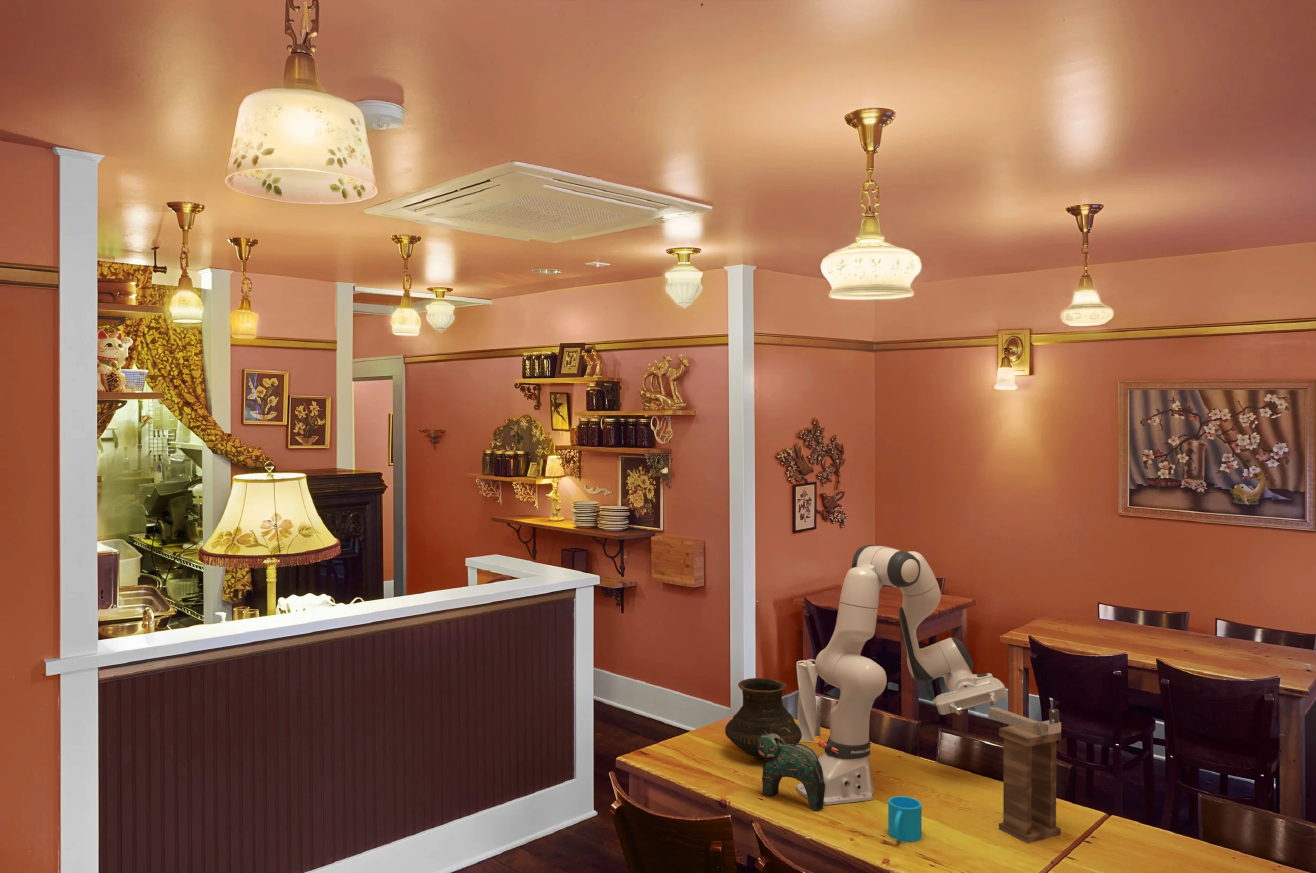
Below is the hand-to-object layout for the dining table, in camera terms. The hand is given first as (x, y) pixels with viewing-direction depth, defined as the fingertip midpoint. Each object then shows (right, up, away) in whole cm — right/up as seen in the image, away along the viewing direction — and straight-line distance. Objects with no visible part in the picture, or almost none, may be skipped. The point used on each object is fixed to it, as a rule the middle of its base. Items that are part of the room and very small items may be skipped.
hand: (976, 707), depth 248 cm
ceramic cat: (-54, -24, -6) cm, 59 cm away
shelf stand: (+5, -24, -25) cm, 35 cm away
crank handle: (+5, +2, -20) cm, 20 cm away
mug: (-29, -24, -29) cm, 47 cm away
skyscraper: (-40, -25, +45) cm, 66 cm away
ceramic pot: (-57, -25, +30) cm, 69 cm away
